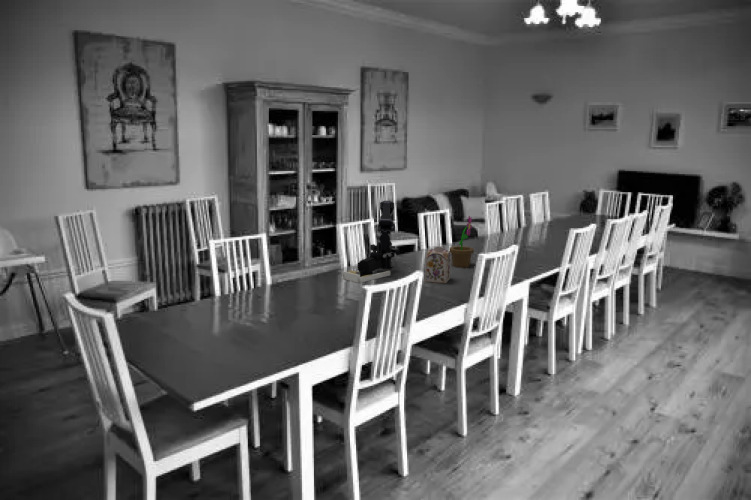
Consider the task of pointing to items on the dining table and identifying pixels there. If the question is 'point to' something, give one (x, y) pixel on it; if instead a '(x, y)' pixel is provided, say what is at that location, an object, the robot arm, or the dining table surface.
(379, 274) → the tester cradle
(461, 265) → the flowerpot
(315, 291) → the dining table surface
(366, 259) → the security camera
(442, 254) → the decorative jar
